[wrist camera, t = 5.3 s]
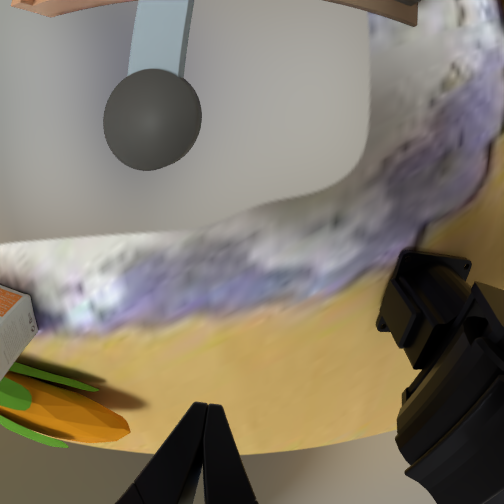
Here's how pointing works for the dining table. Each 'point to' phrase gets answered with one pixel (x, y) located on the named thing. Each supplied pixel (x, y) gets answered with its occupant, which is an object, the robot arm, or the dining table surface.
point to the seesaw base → (387, 8)
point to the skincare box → (14, 326)
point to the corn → (55, 409)
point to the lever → (155, 91)
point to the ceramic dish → (60, 5)
